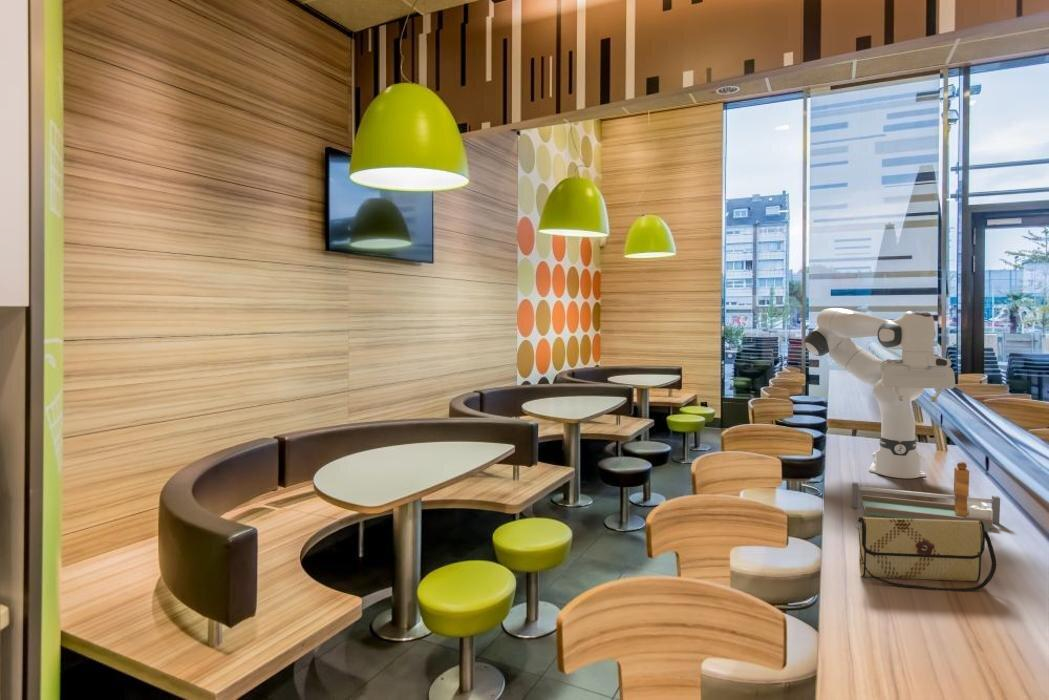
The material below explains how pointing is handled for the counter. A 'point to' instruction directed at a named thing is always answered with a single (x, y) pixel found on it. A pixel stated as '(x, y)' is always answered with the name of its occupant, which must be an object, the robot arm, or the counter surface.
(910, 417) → the robot arm
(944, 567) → the clutch purse
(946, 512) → the pitch
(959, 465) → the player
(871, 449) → the counter surface
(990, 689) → the counter surface
